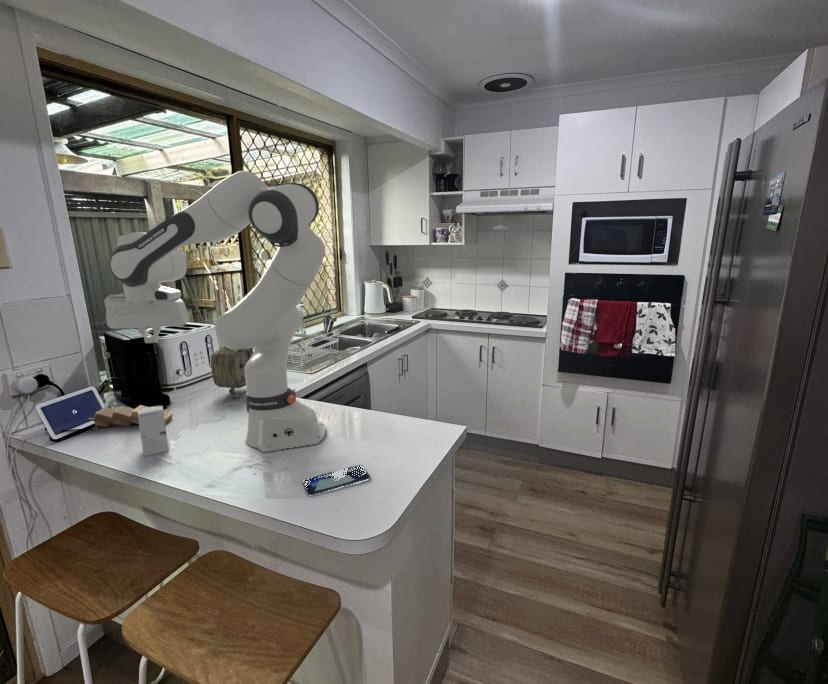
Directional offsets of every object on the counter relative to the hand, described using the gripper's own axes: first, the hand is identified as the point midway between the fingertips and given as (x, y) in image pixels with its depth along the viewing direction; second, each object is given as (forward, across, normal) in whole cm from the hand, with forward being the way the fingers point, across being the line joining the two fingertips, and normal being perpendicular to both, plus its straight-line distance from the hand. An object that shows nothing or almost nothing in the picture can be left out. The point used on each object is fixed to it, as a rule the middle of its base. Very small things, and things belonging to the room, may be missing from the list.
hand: (151, 342), depth 121 cm
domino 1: (+27, -20, +10) cm, 35 cm away
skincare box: (+28, +2, -10) cm, 30 cm away
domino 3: (+27, -9, +10) cm, 30 cm away
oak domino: (+27, -4, +10) cm, 29 cm away
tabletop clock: (+28, +10, +34) cm, 45 cm away
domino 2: (+27, -14, +10) cm, 32 cm away
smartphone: (+29, +52, -32) cm, 68 cm away
